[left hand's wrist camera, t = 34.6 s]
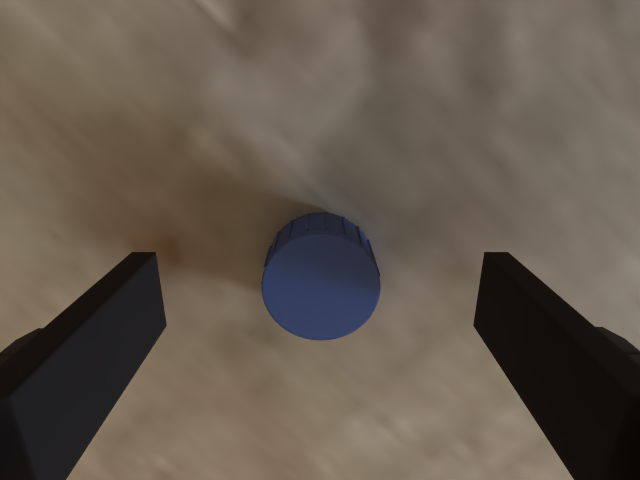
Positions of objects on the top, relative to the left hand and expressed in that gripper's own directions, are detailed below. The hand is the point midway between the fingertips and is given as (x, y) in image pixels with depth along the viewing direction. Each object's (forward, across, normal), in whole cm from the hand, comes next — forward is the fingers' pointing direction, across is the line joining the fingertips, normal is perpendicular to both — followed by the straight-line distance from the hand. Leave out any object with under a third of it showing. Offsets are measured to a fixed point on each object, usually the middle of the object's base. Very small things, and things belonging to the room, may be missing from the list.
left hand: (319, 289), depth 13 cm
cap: (0, 0, 0) cm, 0 cm away
